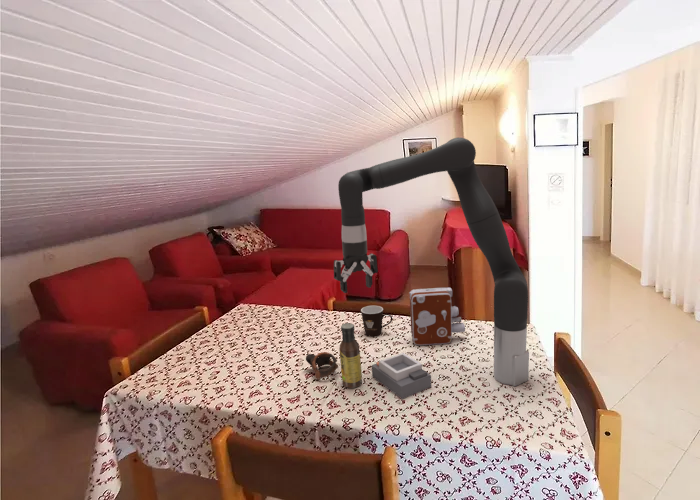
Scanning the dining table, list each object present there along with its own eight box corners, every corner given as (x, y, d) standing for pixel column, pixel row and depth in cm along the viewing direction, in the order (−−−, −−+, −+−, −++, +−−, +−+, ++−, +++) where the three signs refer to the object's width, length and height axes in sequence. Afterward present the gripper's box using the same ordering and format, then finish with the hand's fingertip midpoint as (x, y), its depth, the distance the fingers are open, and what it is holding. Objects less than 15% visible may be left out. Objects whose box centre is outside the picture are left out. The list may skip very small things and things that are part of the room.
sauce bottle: (344, 378, 145) (339, 320, 140) (363, 378, 144) (359, 320, 139) (340, 389, 139) (335, 329, 134) (360, 389, 138) (356, 329, 133)
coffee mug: (357, 334, 177) (356, 310, 175) (373, 327, 183) (371, 304, 180) (379, 342, 169) (377, 317, 166) (394, 334, 174) (393, 310, 172)
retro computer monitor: (431, 386, 136) (430, 367, 135) (401, 398, 131) (400, 378, 130) (400, 366, 150) (399, 348, 148) (372, 376, 145) (371, 357, 143)
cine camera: (467, 344, 162) (467, 292, 157) (413, 347, 162) (411, 295, 158) (461, 334, 171) (461, 283, 166) (410, 337, 171) (408, 287, 167)
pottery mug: (343, 367, 153) (342, 354, 147) (331, 391, 147) (329, 378, 141) (312, 355, 157) (310, 341, 151) (298, 377, 150) (296, 364, 145)
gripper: (338, 244, 130) (342, 297, 134) (380, 237, 136) (382, 288, 140) (327, 240, 136) (331, 291, 140) (368, 233, 143) (370, 282, 147)
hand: (357, 289), depth 140 cm, fingers open, 8 cm apart
